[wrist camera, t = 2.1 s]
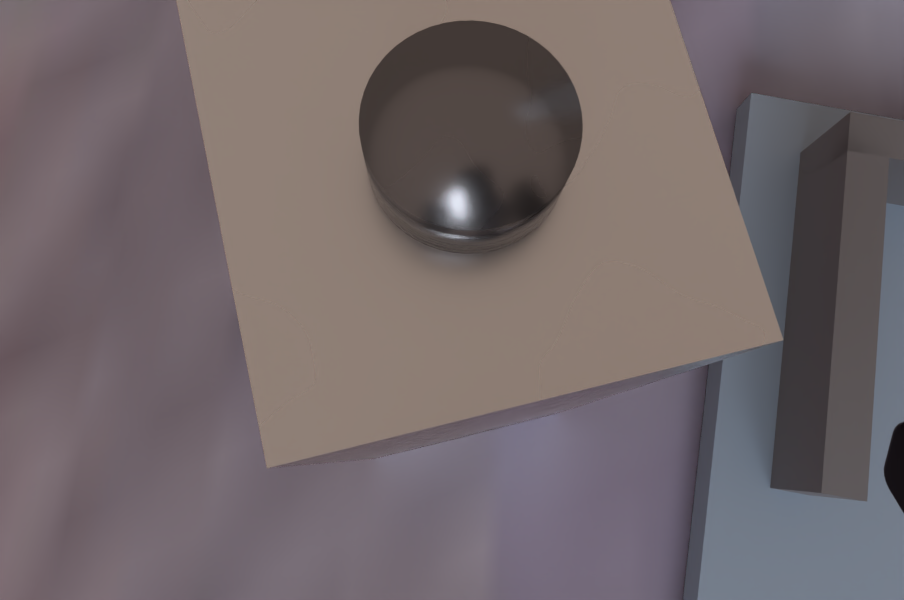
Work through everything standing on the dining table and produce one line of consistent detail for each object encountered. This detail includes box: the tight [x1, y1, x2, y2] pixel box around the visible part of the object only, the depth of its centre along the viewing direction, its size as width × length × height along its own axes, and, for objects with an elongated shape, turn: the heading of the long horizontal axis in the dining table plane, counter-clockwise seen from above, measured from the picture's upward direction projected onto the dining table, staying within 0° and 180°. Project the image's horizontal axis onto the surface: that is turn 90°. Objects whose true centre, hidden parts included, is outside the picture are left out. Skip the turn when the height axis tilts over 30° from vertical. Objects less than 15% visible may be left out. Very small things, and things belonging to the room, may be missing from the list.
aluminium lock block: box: [176, 0, 783, 468], centre depth 13 cm, size 5×5×14 cm
